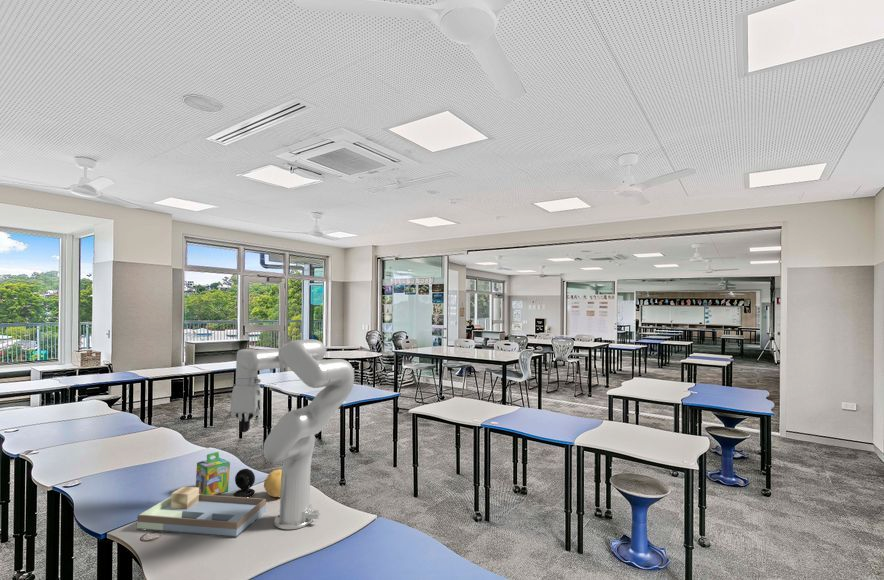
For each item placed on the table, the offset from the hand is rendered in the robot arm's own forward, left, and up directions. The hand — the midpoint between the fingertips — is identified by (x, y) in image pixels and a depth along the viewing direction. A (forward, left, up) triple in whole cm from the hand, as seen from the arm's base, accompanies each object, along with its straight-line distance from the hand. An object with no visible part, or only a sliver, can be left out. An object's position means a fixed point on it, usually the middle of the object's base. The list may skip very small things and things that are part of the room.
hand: (244, 431), depth 162 cm
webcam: (+3, -6, -26) cm, 27 cm away
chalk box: (+17, -7, -27) cm, 32 cm away
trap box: (+5, +15, -26) cm, 30 cm away
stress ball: (-10, -7, -26) cm, 29 cm away
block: (+15, +10, -24) cm, 30 cm away
